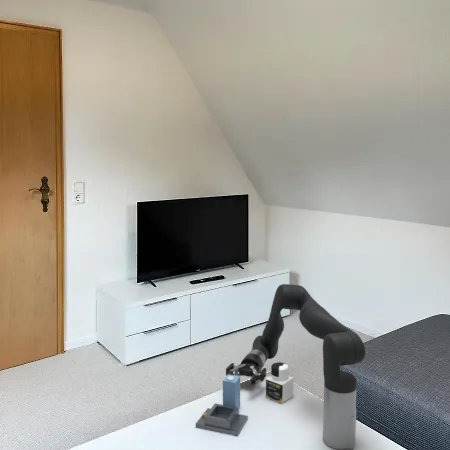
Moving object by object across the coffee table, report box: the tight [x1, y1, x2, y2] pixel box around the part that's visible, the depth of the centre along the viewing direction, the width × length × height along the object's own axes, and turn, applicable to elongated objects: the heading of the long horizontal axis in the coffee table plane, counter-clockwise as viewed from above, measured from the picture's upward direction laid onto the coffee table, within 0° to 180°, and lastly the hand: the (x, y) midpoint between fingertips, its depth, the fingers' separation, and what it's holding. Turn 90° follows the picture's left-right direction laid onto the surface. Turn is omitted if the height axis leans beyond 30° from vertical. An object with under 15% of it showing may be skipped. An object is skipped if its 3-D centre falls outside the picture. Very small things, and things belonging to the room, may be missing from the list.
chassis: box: [195, 402, 249, 437], centre depth 152 cm, size 14×10×4 cm
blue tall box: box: [222, 374, 241, 409], centre depth 159 cm, size 4×5×12 cm
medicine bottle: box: [265, 361, 294, 404], centre depth 168 cm, size 7×7×12 cm
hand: (239, 380), depth 167 cm, fingers open, 8 cm apart
